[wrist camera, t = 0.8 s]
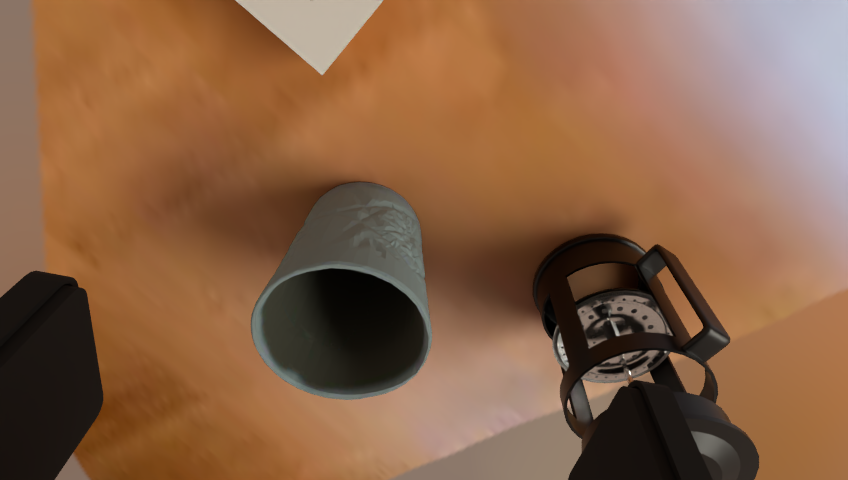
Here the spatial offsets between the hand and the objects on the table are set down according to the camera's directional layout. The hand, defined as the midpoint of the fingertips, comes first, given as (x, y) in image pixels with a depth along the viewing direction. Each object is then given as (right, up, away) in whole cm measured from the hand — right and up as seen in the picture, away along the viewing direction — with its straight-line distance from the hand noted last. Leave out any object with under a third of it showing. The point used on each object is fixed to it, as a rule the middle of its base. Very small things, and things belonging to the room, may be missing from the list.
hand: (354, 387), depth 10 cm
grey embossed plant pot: (-3, +3, +31) cm, 31 cm away
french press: (+15, 0, +33) cm, 36 cm away
